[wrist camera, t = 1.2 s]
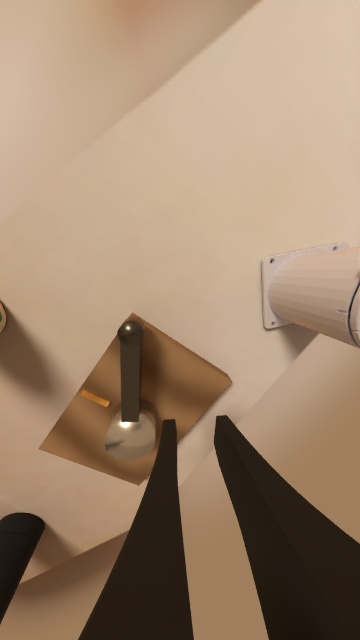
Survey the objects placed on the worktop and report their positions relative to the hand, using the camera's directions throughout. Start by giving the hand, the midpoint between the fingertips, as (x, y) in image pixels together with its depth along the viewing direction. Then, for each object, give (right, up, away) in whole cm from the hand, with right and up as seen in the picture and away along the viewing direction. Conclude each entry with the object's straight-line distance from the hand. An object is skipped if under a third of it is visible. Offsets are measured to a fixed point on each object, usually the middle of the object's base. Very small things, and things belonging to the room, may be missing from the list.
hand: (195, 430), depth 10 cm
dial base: (-6, -4, +11) cm, 14 cm away
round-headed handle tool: (-6, 0, +8) cm, 10 cm away
